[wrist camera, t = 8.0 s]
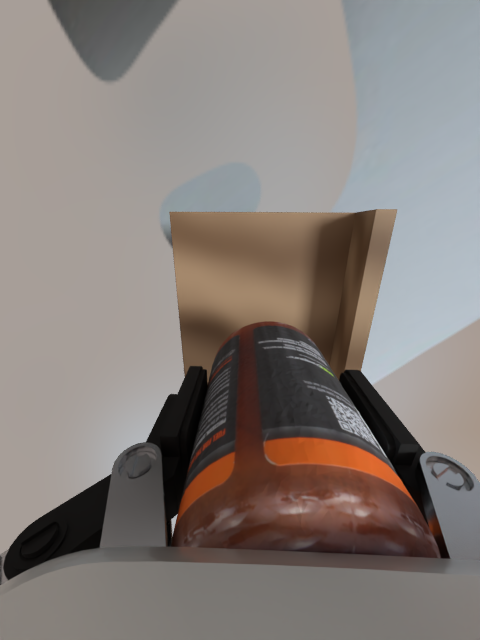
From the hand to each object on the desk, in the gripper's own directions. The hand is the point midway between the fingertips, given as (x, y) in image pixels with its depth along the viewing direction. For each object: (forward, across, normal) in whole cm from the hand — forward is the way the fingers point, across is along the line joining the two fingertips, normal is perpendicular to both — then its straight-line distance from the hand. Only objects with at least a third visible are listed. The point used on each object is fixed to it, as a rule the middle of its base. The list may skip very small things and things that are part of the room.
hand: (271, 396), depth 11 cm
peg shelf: (+13, 0, 0) cm, 13 cm away
